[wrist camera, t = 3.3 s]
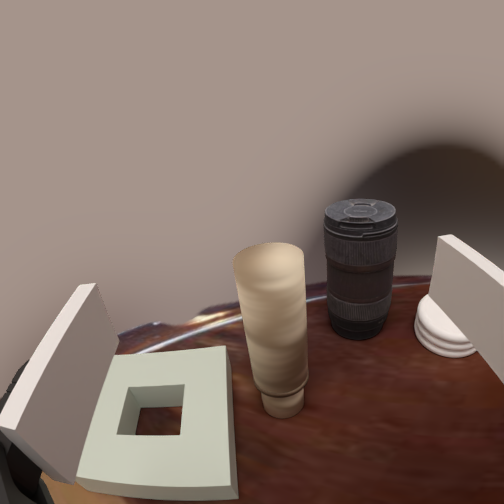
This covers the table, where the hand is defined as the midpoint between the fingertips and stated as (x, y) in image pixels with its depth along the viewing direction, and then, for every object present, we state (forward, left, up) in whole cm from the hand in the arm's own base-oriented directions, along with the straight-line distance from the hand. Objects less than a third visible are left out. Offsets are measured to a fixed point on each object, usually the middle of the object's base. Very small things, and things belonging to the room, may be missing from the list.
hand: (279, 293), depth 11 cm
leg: (-1, -10, -19) cm, 22 cm away
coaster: (-23, -14, -20) cm, 33 cm away
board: (+11, -8, -19) cm, 24 cm away
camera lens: (-12, -20, -20) cm, 30 cm away
